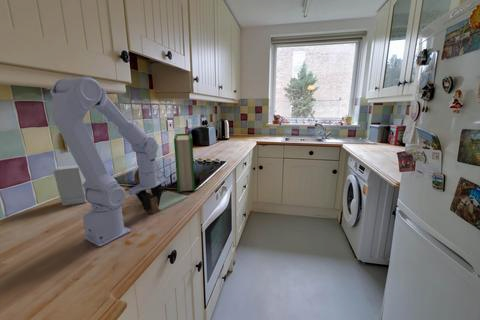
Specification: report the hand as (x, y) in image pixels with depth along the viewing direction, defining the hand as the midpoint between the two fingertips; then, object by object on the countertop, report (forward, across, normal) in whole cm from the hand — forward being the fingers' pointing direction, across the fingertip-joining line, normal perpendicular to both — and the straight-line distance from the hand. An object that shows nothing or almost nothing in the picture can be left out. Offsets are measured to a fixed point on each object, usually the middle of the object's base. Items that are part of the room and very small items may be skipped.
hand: (151, 207), depth 82 cm
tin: (+2, -20, -30) cm, 36 cm away
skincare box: (+2, +10, -34) cm, 35 cm away
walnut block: (+2, 0, 0) cm, 2 cm away
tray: (+2, -9, -4) cm, 10 cm away
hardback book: (+2, -26, -9) cm, 28 cm away
